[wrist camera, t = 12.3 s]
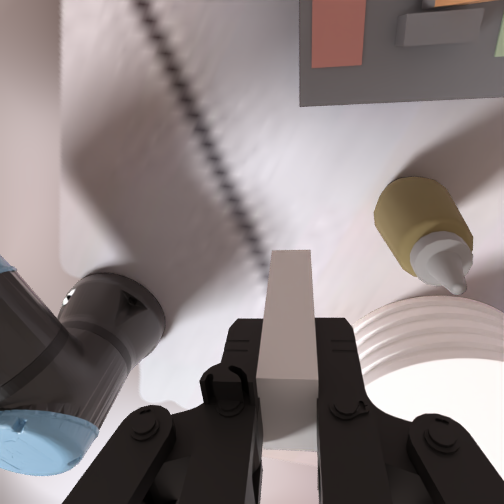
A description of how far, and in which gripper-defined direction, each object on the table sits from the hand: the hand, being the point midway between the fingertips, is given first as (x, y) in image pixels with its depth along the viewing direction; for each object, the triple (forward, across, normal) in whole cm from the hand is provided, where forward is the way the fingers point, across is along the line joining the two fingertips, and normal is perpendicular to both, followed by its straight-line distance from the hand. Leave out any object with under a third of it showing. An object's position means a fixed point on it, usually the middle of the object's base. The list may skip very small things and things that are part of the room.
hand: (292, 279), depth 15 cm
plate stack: (+31, +18, -36) cm, 51 cm away
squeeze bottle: (+30, +12, -8) cm, 34 cm away
